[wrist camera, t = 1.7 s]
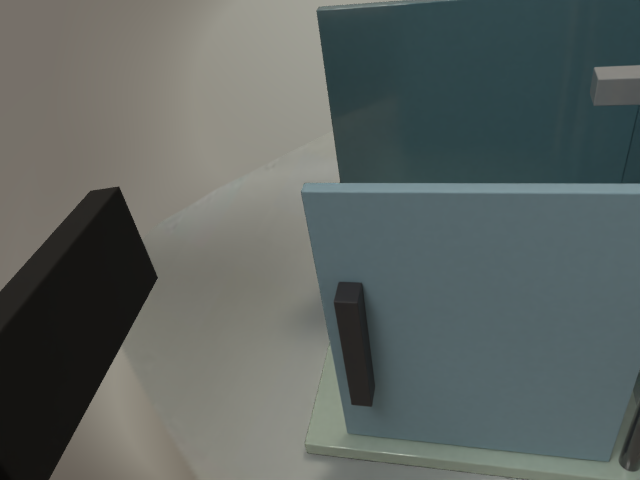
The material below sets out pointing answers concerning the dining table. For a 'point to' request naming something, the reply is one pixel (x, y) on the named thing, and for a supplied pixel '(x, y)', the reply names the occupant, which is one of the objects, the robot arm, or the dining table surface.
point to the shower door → (482, 310)
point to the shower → (481, 149)
